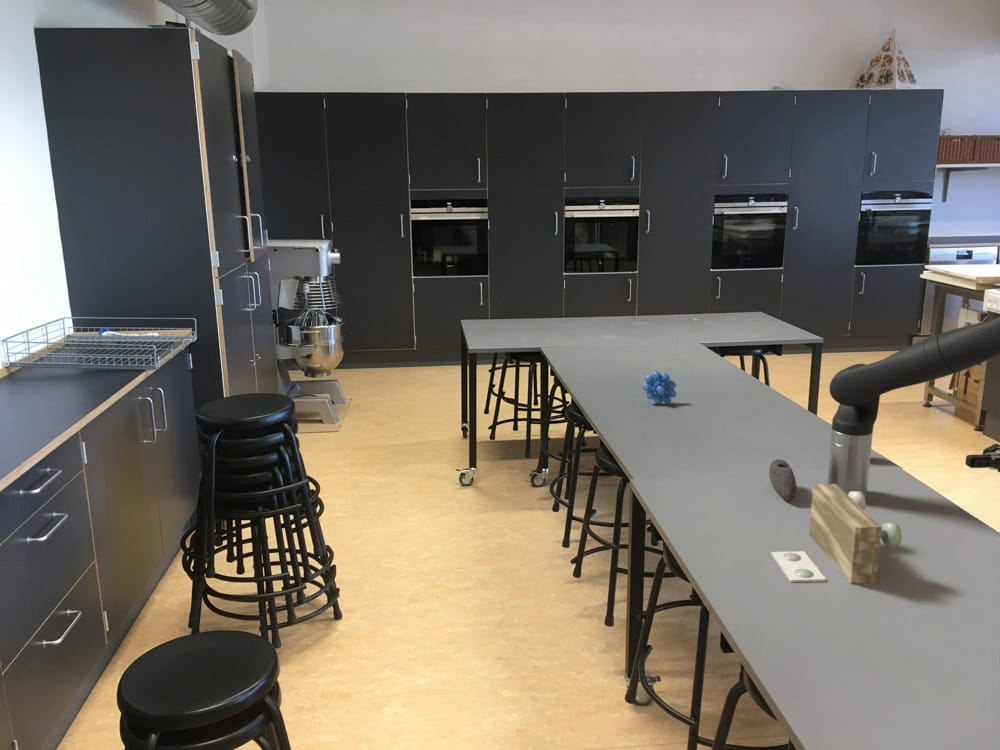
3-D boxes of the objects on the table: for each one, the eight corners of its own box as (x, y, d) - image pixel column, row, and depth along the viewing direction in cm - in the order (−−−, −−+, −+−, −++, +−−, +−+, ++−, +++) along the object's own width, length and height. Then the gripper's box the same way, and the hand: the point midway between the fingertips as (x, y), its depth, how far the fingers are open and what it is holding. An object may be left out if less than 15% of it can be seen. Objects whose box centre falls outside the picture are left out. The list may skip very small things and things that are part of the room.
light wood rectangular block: (831, 533, 181) (835, 483, 178) (875, 582, 160) (881, 527, 157) (809, 534, 181) (813, 484, 178) (850, 583, 160) (855, 527, 157)
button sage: (889, 539, 163) (891, 519, 162) (900, 549, 159) (902, 528, 158) (861, 539, 163) (863, 519, 162) (871, 549, 159) (873, 529, 158)
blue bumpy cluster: (643, 408, 277) (644, 374, 274) (641, 402, 284) (642, 369, 281) (678, 408, 276) (679, 374, 273) (675, 402, 283) (676, 369, 280)
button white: (855, 506, 179) (857, 488, 178) (864, 515, 174) (866, 496, 173) (830, 507, 179) (831, 488, 178) (838, 515, 174) (839, 496, 173)
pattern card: (771, 554, 173) (771, 551, 172) (803, 553, 172) (804, 550, 172) (790, 582, 161) (790, 579, 161) (825, 581, 161) (826, 578, 161)
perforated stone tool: (800, 506, 196) (802, 480, 194) (778, 506, 197) (779, 479, 195) (787, 483, 210) (789, 458, 208) (767, 482, 211) (768, 457, 209)
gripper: (1038, 430, 162) (951, 432, 162) (1084, 452, 149) (990, 455, 149) (1032, 465, 164) (947, 467, 164) (1078, 490, 151) (985, 492, 151)
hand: (968, 461), depth 157 cm, fingers closed
